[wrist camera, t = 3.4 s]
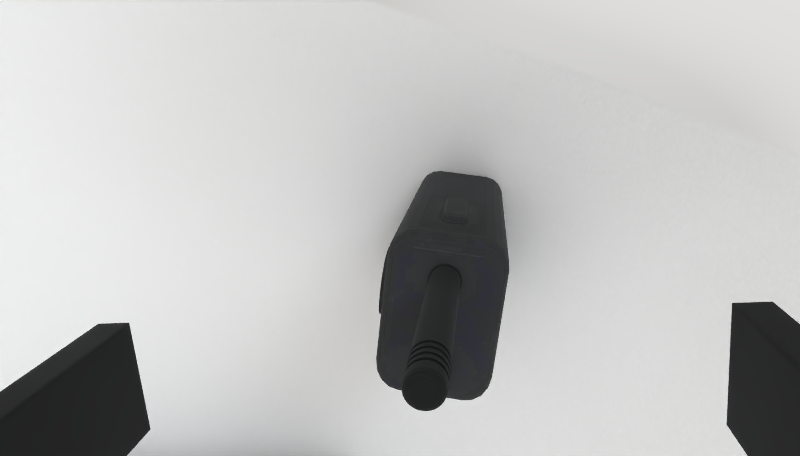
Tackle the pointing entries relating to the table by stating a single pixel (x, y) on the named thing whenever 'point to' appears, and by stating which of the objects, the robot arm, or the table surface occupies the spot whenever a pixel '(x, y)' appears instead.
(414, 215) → the walkie-talkie
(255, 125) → the table surface
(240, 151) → the table surface
